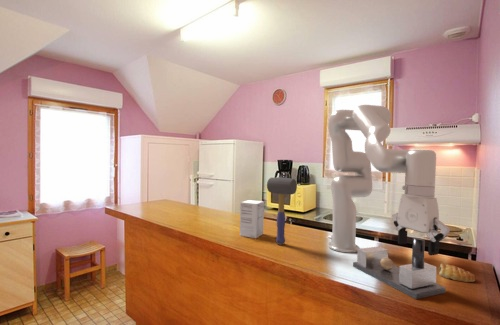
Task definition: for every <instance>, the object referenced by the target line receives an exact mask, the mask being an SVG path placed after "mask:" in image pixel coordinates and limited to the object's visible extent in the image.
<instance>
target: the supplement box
mask: <svg viewBox="0 0 500 325" xmlns="http://www.w3.org/2000/svg"><path fill="white" fill-rule="evenodd" d="M239 203H240V204H239V205H240V206H239V208H240V209H239V236H240V237H246V238H252V239H257V238H259V237H260V236H262V235H263V234H264V220H265V218H264V213H265V212H264V211H265V209H264V208H265V206H264V205H265V202H264V201H263V200H253V199H252V200H251V199H248V200H244V201H240V202H239Z"/></svg>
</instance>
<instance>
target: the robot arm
mask: <svg viewBox="0 0 500 325" xmlns="http://www.w3.org/2000/svg"><path fill="white" fill-rule="evenodd" d="M391 121H392V112H391V111H390V109H389V108H388V107H386V106H383V105H375V104H373V105H372V104H361V105H358V106H357V107H355V108H354V109H338V110H335V111H333V112H332V113H331V114H330V116H329V118H328V122H327V123H328V124H327V127H328V133H329V136H330V140H331V147H332V148H331V151H332V152H331V153H332V164H333V165H332V166H333V168H334V169H333V170H335V171H336V172H338V173H344V175H337V176H335V177H334V178H333V179H332V180H331V183H330V189H331V196H332V233H331V234H330V235H328V238H329V239H330V242H328V248H329V249H331V250H333V251H337V252H341V253H350V254H351V253H357V251H358V249H360V246H359V245H357V244H356V233H357V231H356V230H357V229H356V227H357V208H356V204H355V202H354V200H353V199H352V198H367V197H369V196H370V195H371V194H372V192H373V174H372V166H373V168H375V169H376V170H377V171H378V172H381V173H389V174H391V173H392V174H393V173H396V174H397V173H398V174H401V173H402V174H405V175H404V185H403V186H402V187H401V188H402V189H401V190H403V191H404V193H402V194H401V197H400V200H399V204H398V211H397V212H396V213H394V214H391V217H392V221H393V224H394V226H395V230H396V231H397V244H398V245H405V244H408V230H407V229H409V230H411V231H415V232H419V233H422V234H426V235H427V237H429V239H430V240H429V241H428V246H427V247H428V248H427V249H428V250H427V251H428V252H427V254H428V255H429V256H437V255H438V254H439V252H440V242H441V241H442V240H443V239H445V238H446V237H447V235H448V234H449V233H450V231H451V228H450V227H448V225H446V224H444V223H443V222H442V221H441V220H440V213H439V212H440V211H439V204H438V199H437V197H435V196H436V193H435V192H436V173H437V172H436V170H437V153H436V152H435V151H434V150H431V149H398V148H397V149H395V148H394V149H393V148H386V147H385V146H384V145H383V144H382V142H384V141H385V140H386V139H387V138H389V136H390V134H391V127H390V125H389V124H390V123H391ZM346 130H347V131H359V132H361V133H362V134H363V136H364V137H365V138H366V139H365V143H364V152H363V151H355V150H353V140H352V138H351V137H350V135H349V134H348V133H347V132H346ZM345 173H348V174H349V173H351V174H352V173H353V174H354V175H346V174H345ZM439 229H440V232H438V231H439ZM438 256H439V255H438Z"/></svg>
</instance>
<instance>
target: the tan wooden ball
mask: <svg viewBox="0 0 500 325" xmlns="http://www.w3.org/2000/svg"><path fill="white" fill-rule="evenodd" d="M380 265H381V267H382V268H383V269H384V270H391V269H392V268H393V266H395V265H394V262H393V260H392V259H391V258H389V257H388V258H383V259H381V261H380Z"/></svg>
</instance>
